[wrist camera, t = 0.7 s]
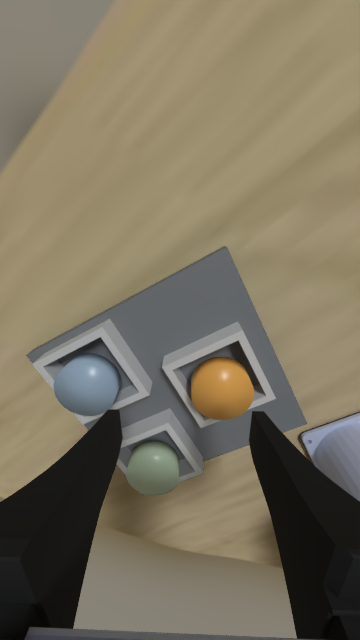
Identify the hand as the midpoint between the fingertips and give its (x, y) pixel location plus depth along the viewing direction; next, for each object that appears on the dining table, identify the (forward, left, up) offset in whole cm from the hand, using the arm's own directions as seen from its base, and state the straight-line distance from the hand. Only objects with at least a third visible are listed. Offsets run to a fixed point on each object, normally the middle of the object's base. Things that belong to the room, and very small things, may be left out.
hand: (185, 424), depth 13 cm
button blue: (+2, +7, -6) cm, 10 cm away
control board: (-3, +3, -9) cm, 10 cm away
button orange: (-3, -2, -6) cm, 7 cm away
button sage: (-8, +7, -6) cm, 12 cm away
